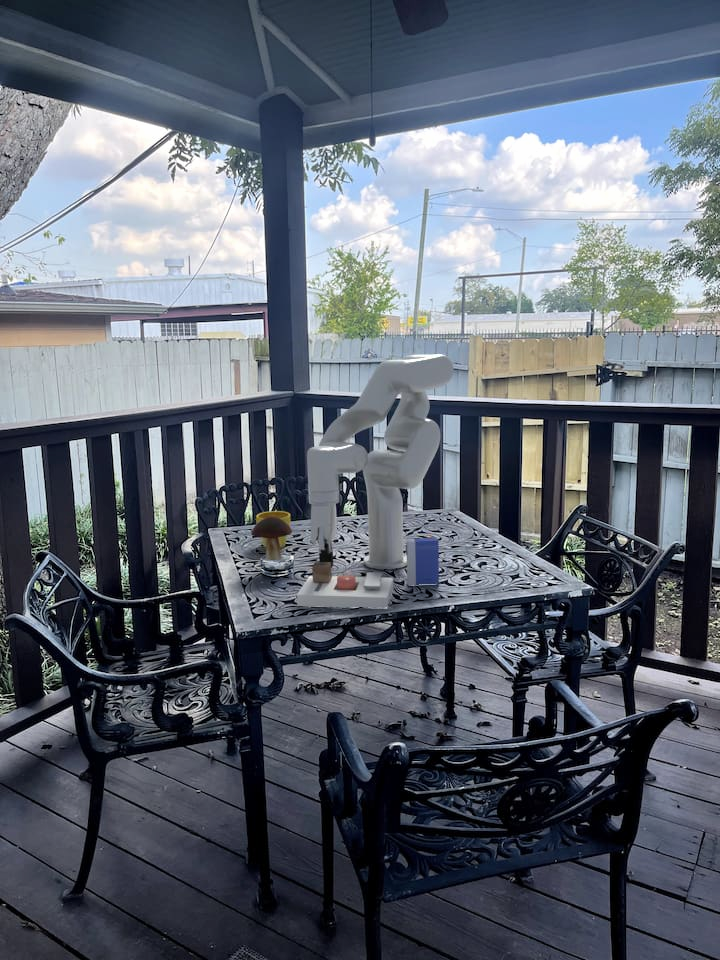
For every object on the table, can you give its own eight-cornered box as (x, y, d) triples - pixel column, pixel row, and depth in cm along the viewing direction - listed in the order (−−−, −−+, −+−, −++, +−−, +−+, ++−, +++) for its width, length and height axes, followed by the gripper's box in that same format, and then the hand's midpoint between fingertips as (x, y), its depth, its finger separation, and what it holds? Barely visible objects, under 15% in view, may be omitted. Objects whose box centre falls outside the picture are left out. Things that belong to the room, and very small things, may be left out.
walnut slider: (315, 577, 162) (315, 561, 161) (331, 577, 161) (331, 562, 161) (313, 581, 159) (312, 566, 158) (329, 582, 158) (328, 566, 157)
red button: (339, 586, 159) (338, 574, 158) (357, 586, 158) (356, 575, 158) (335, 593, 155) (335, 581, 154) (354, 593, 154) (353, 581, 153)
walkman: (436, 581, 166) (436, 535, 164) (438, 585, 163) (438, 539, 161) (405, 583, 165) (405, 537, 163) (407, 587, 163) (407, 540, 160)
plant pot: (294, 540, 205) (293, 510, 203) (288, 550, 195) (286, 519, 193) (262, 540, 206) (260, 510, 204) (254, 550, 196) (252, 519, 194)
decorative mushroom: (302, 568, 179) (299, 515, 176) (271, 579, 171) (268, 524, 168) (275, 560, 186) (272, 509, 183) (245, 571, 178) (241, 518, 175)
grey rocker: (367, 575, 158) (367, 572, 158) (382, 575, 157) (382, 572, 157) (364, 588, 153) (363, 585, 152) (379, 589, 152) (379, 586, 152)
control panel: (310, 587, 165) (309, 572, 164) (393, 589, 161) (393, 574, 161) (297, 607, 152) (296, 591, 151) (387, 609, 149) (387, 593, 148)
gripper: (315, 489, 170) (318, 557, 173) (301, 503, 155) (305, 576, 159) (344, 490, 169) (346, 558, 172) (332, 503, 154) (335, 577, 158)
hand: (326, 566), depth 165 cm, fingers closed
